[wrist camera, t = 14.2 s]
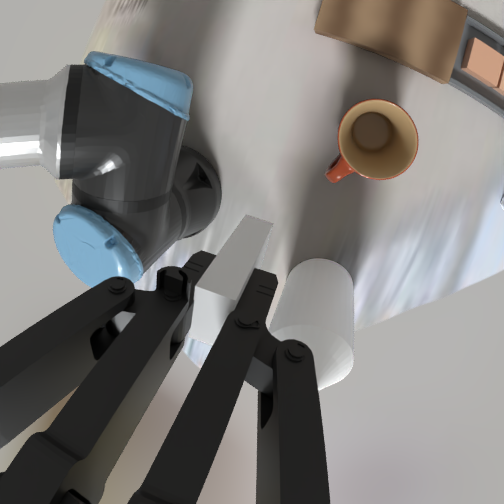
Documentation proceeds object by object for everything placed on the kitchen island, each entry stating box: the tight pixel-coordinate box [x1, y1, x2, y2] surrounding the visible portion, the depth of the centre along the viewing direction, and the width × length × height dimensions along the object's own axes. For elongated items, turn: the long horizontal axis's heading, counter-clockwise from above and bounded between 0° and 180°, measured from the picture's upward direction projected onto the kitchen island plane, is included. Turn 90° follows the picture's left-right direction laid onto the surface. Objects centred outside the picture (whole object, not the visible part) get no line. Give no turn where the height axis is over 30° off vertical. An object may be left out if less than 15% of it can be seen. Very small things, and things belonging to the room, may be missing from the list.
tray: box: [448, 15, 504, 118], centre depth 26 cm, size 16×11×2 cm
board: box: [314, 0, 468, 84], centre depth 28 cm, size 18×12×3 cm, turn 76°
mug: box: [325, 99, 418, 183], centre depth 34 cm, size 12×9×10 cm
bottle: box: [268, 258, 354, 391], centre depth 41 cm, size 12×12×25 cm
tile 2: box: [461, 37, 504, 87], centre depth 26 cm, size 5×5×2 cm
